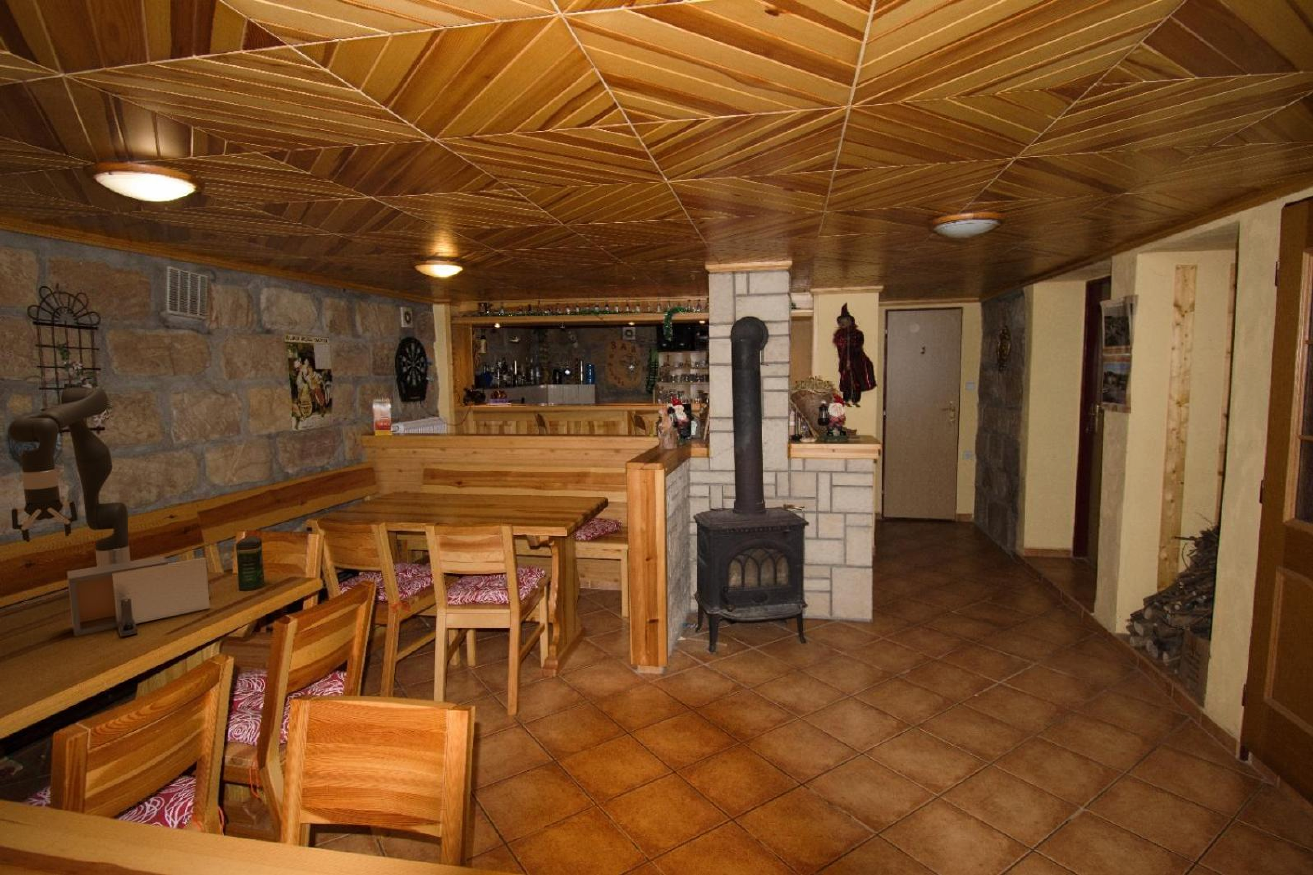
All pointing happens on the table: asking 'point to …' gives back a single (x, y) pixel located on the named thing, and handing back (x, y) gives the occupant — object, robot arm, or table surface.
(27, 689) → the table surface
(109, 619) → the block
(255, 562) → the coffee jar
